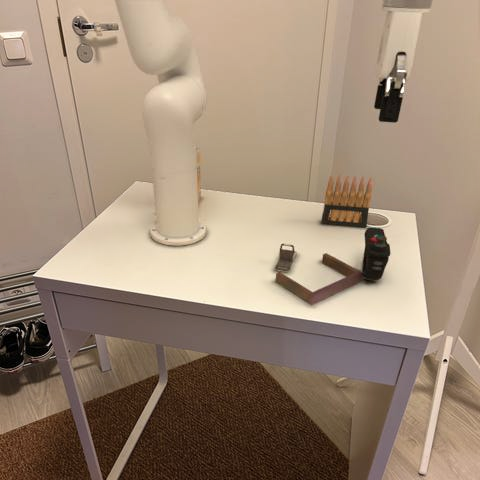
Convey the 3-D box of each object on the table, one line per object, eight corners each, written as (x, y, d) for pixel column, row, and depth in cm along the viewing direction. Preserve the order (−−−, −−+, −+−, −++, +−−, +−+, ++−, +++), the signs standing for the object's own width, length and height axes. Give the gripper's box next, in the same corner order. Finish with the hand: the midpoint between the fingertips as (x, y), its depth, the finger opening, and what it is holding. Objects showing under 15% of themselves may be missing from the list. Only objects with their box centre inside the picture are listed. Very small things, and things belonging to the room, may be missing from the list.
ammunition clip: (365, 224, 114) (375, 176, 107) (366, 228, 112) (375, 178, 105) (321, 221, 115) (327, 172, 108) (321, 224, 114) (327, 175, 106)
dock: (275, 282, 92) (275, 273, 90) (324, 261, 99) (326, 252, 98) (311, 305, 85) (312, 296, 84) (361, 281, 93) (363, 272, 91)
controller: (360, 289, 90) (370, 242, 84) (357, 259, 100) (366, 215, 94) (383, 292, 89) (395, 245, 84) (378, 261, 99) (388, 217, 93)
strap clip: (283, 252, 102) (285, 234, 99) (297, 254, 101) (299, 236, 98) (273, 271, 95) (275, 252, 93) (288, 273, 94) (290, 254, 92)
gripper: (378, -3, 82) (361, 103, 92) (389, 1, 68) (367, 125, 78) (423, -1, 81) (400, 105, 91) (442, 3, 67) (413, 128, 77)
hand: (385, 115), depth 84 cm, fingers open, 9 cm apart
